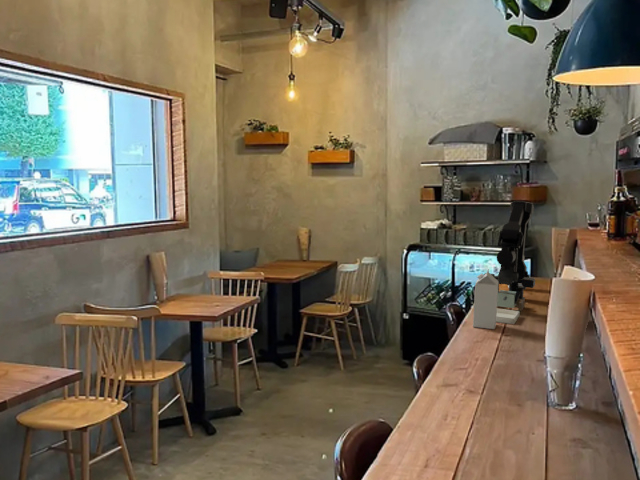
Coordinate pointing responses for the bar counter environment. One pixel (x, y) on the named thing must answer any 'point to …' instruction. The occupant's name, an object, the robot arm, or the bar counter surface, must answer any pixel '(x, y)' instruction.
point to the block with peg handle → (506, 299)
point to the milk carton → (485, 301)
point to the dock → (520, 304)
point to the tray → (507, 316)
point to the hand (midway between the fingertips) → (506, 303)
